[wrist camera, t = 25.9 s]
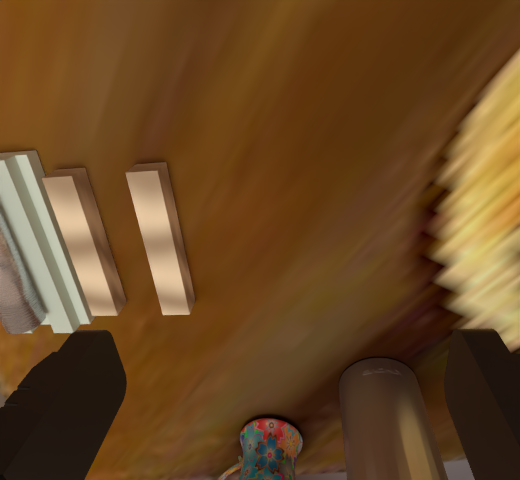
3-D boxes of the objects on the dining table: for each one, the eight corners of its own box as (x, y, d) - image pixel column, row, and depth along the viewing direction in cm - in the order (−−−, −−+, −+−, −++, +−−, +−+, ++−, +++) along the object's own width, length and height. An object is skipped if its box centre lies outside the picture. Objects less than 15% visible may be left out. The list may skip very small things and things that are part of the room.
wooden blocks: (195, 300, 44) (189, 314, 42) (102, 301, 46) (92, 315, 44) (166, 162, 37) (157, 170, 35) (56, 169, 39) (41, 178, 36)
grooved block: (96, 315, 47) (83, 332, 44) (20, 316, 48) (3, 333, 46) (36, 150, 38) (16, 159, 35) (-56, 157, 39) (-82, 166, 37)
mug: (296, 407, 51) (294, 492, 42) (312, 452, 55) (313, 539, 46) (210, 416, 54) (190, 498, 44) (231, 459, 58) (216, 542, 48)
